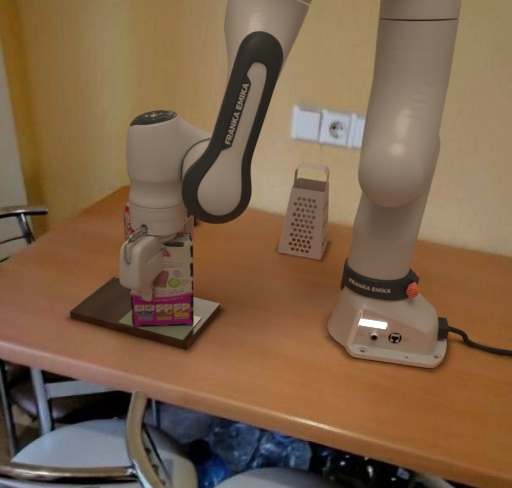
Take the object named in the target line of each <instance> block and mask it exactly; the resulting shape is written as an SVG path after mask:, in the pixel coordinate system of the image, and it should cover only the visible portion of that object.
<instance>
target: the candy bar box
mask: <svg viewBox="0 0 512 488" xmlns="http://www.w3.org/2000/svg"><path fill="white" fill-rule="evenodd" d="M128 235H129V234H128ZM161 251H163V271H162V272H161V273H160V274H159V275H157V276H156V277H155V278H154V279H153V280H152V284H151V285H150V286H151V288H152V289H155V297H154V298H153V299H152V300H151V301H145V300H143V299H142V292H141V290H140V291H137V290H132V289H130V298H131V310H132V324H133V327H150V326H176V325H193V324H194V297H195V295H194V244H193V240H192V235H191V233H177V235H176V237H175V238H173V239H172V240H169V241H165V242H163V243H162V244H161Z"/></svg>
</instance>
